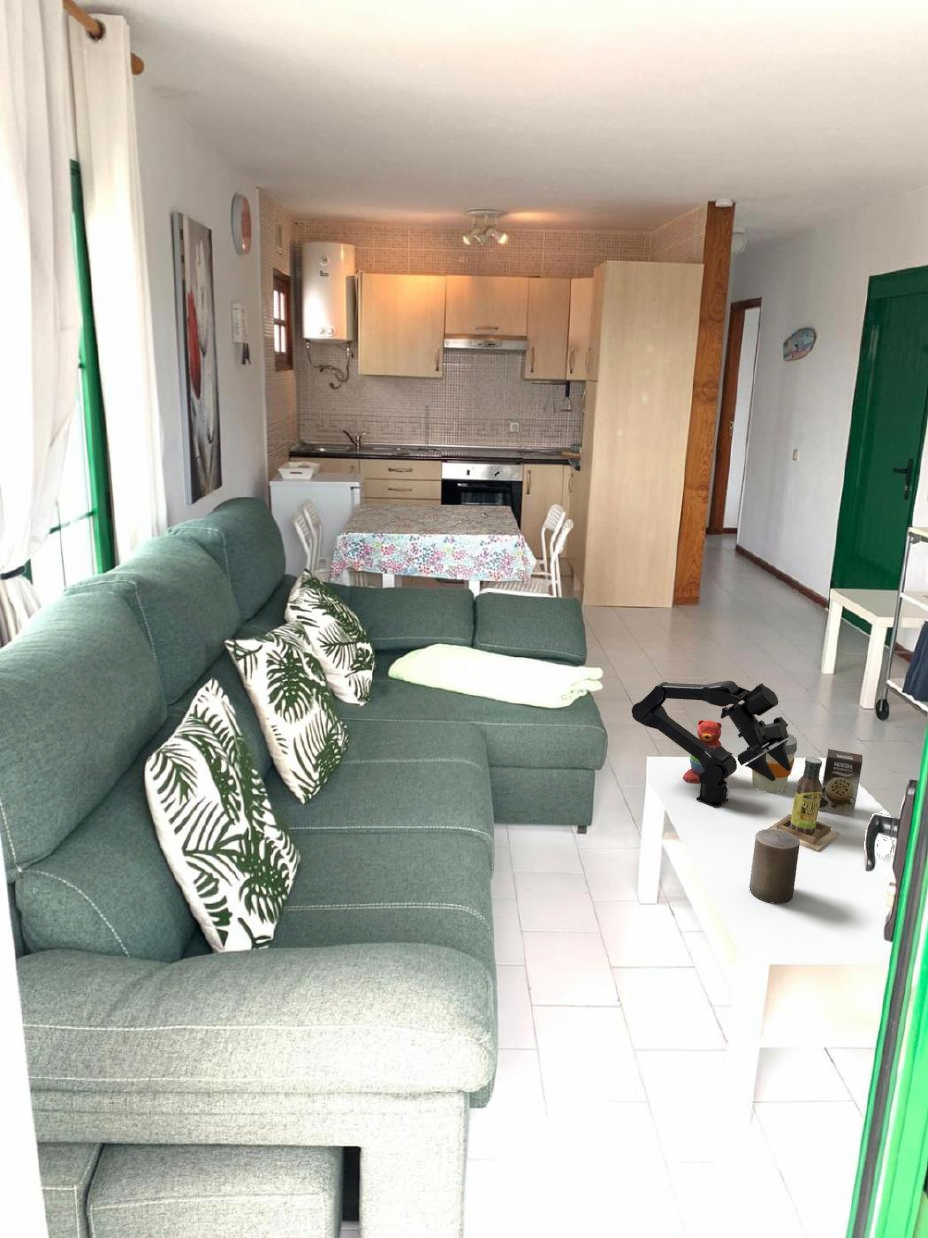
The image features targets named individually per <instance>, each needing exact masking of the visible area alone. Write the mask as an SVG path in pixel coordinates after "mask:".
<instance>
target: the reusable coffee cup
mask: <svg viewBox="0 0 928 1238" xmlns="http://www.w3.org/2000/svg"><path fill="white" fill-rule="evenodd" d="M787 735H788V736H789V737H788V738H786V739H785V740H783V742H784V741H786V740H788V742H787V744H786V748H785V749H786V753H787V757H788V760H789V763H790V766H791V770H789V771H787V770H786V769H784V768H783V767H782V766H781V765H780V764H779V763H778V762H777V761H776V760H775V759H773V758H772V757H771V756H770V755H769V754H768V753H767V752H768V751H769V750H770V749H768V750H767V749H765V750H763V751H764V752H763V753H762V754H765V753H766V762H767V763H768V765H769V767H770V769H771V771H772V772H773V774H774V776H775V778H776V780H775V781H771V780H769V779H767V778H766V777H764V776H763V775H761V774H760V773H758V772H756V771H754V770H753V769H751V770H752V771H751V775H752V776H751V777H752V778H751V781H752V783H751V784H752V786H753V788H755V789H757V788H758V789H757V790H759V791H761V790H762V792H764V791H765V793H770V794H771V793H773V794H774V793H775V794H776V793H782V792H784V791H785V790H786V785H787V782H788V779H789V776H790V775H791V774H792V770H793V767H794V763H795V754H796V752H797V751H798V739H797V738H796V737H795V736H794V735H792V734H790V733H787ZM784 789H785V790H784Z"/></svg>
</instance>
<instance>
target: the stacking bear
mask: <svg viewBox="0 0 928 1238" xmlns="http://www.w3.org/2000/svg"><path fill="white" fill-rule="evenodd" d="M697 724H698V727H697V732H696V733H697V738H698V739H700V740H701V741H702V742H704V743H705V744H706V745H708V746H709V747H712V748H717V747H718V746H722V747H723V745H722V743H721V741H720V738H721V735H722V727H723V725H722V723H721V722H716V721H713V720H703V719H701V720H699V721H698V722H697ZM689 763H690V767H691V768H690V769H688V770H687V771H686V772H685V773H684V774H683V775H682V776H683V777H682V779H683V781H684V782H686V783H689V784H699V785H701V782H700V780H699V776H698V775H699V774H701V773H702V772H703V771H704V769H703V767H702V766H701V764H700V762H699V760H698V759H696V758H695V757H694V756H692V755H691V754H690V753H689Z"/></svg>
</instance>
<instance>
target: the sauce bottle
mask: <svg viewBox="0 0 928 1238" xmlns="http://www.w3.org/2000/svg"><path fill="white" fill-rule="evenodd" d="M822 765H823V761H822V759H820V758H818V757H814V756H807V757H806V758H805V759H804V769H803V774H802V776H801V777H800V778H799V779H798V780H797V783H796V788H795V790H794V791H795V792H794V799H793V804H792V809H791V810H792V811H791V824H790V828H791V829H793V830H796V831H799V832H801V833H804V834H807V835H810V834H813V833H814V831H815V827H816V822H818V815H819V812H820V811H819V804H820V799H821V793H822V792H821V790H822V781H821V780H820V772H821V768H822Z"/></svg>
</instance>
